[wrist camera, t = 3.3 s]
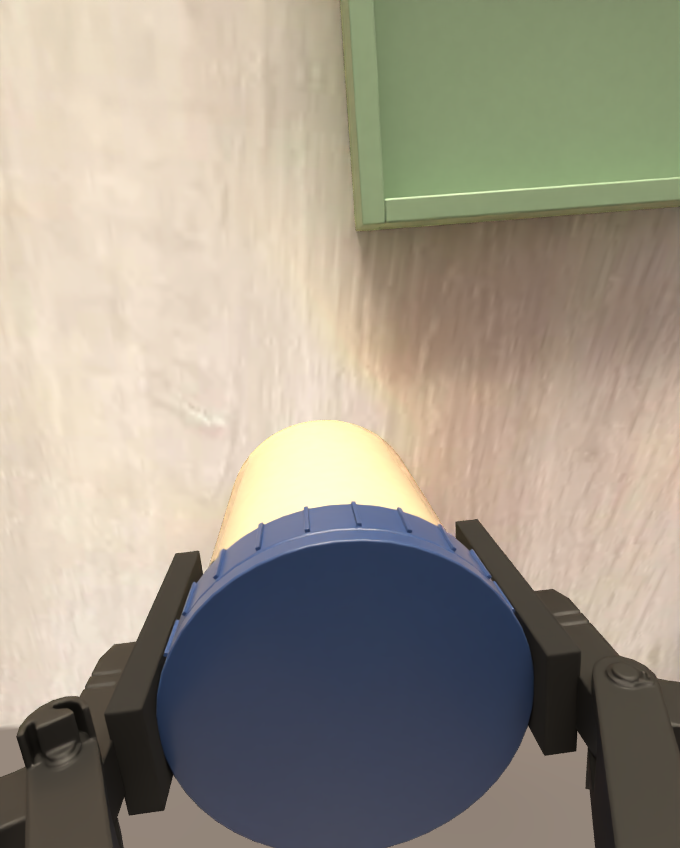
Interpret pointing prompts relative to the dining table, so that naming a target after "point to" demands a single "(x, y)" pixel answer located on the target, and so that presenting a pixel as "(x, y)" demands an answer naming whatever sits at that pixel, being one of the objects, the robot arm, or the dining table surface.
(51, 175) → the dining table surface
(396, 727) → the lid
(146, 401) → the dining table surface
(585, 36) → the tray
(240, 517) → the jar
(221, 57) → the dining table surface
